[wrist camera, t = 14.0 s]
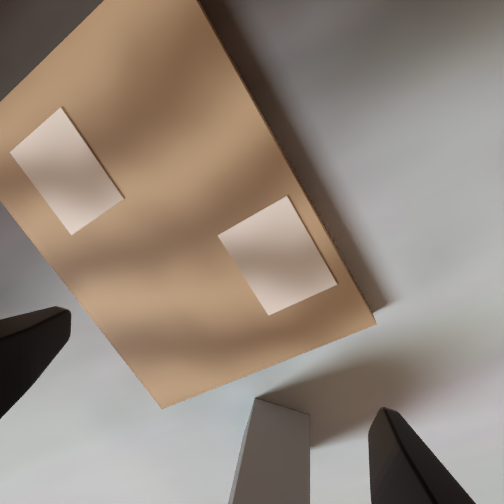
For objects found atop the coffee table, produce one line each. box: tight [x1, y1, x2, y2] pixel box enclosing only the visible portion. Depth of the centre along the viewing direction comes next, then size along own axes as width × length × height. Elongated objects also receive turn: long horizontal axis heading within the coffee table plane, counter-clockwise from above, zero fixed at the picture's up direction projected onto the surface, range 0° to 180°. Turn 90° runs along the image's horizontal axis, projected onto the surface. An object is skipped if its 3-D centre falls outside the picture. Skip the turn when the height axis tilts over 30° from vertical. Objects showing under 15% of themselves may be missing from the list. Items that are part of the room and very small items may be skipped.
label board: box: [0, 0, 376, 409], centre depth 19 cm, size 21×16×1 cm
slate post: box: [228, 398, 310, 504], centre depth 19 cm, size 4×4×10 cm
